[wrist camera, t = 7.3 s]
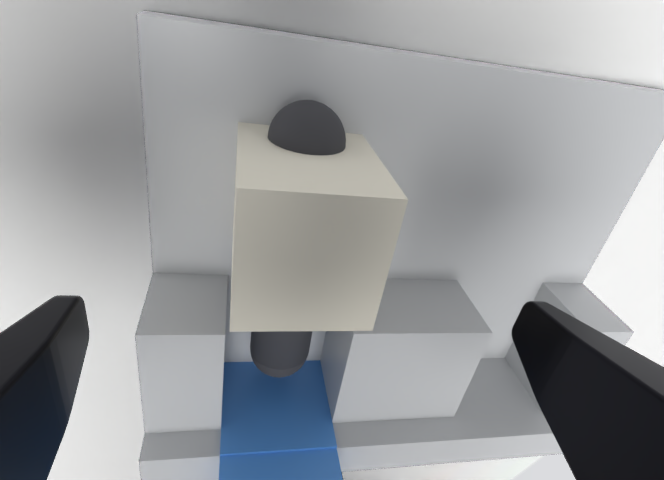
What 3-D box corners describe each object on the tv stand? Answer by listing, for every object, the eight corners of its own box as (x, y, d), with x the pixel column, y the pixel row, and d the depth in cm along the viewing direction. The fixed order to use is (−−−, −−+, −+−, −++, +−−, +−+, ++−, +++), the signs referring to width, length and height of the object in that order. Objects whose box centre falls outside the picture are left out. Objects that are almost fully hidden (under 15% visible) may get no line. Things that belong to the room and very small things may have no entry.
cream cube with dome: (320, 345, 18) (341, 444, 14) (227, 347, 17) (223, 452, 14) (369, 98, 13) (420, 153, 9) (239, 83, 12) (239, 136, 8)
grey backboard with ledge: (518, 363, 23) (604, 487, 17) (163, 372, 19) (132, 536, 13) (663, 89, 16) (883, 156, 10) (143, 10, 12) (60, 51, 6)
